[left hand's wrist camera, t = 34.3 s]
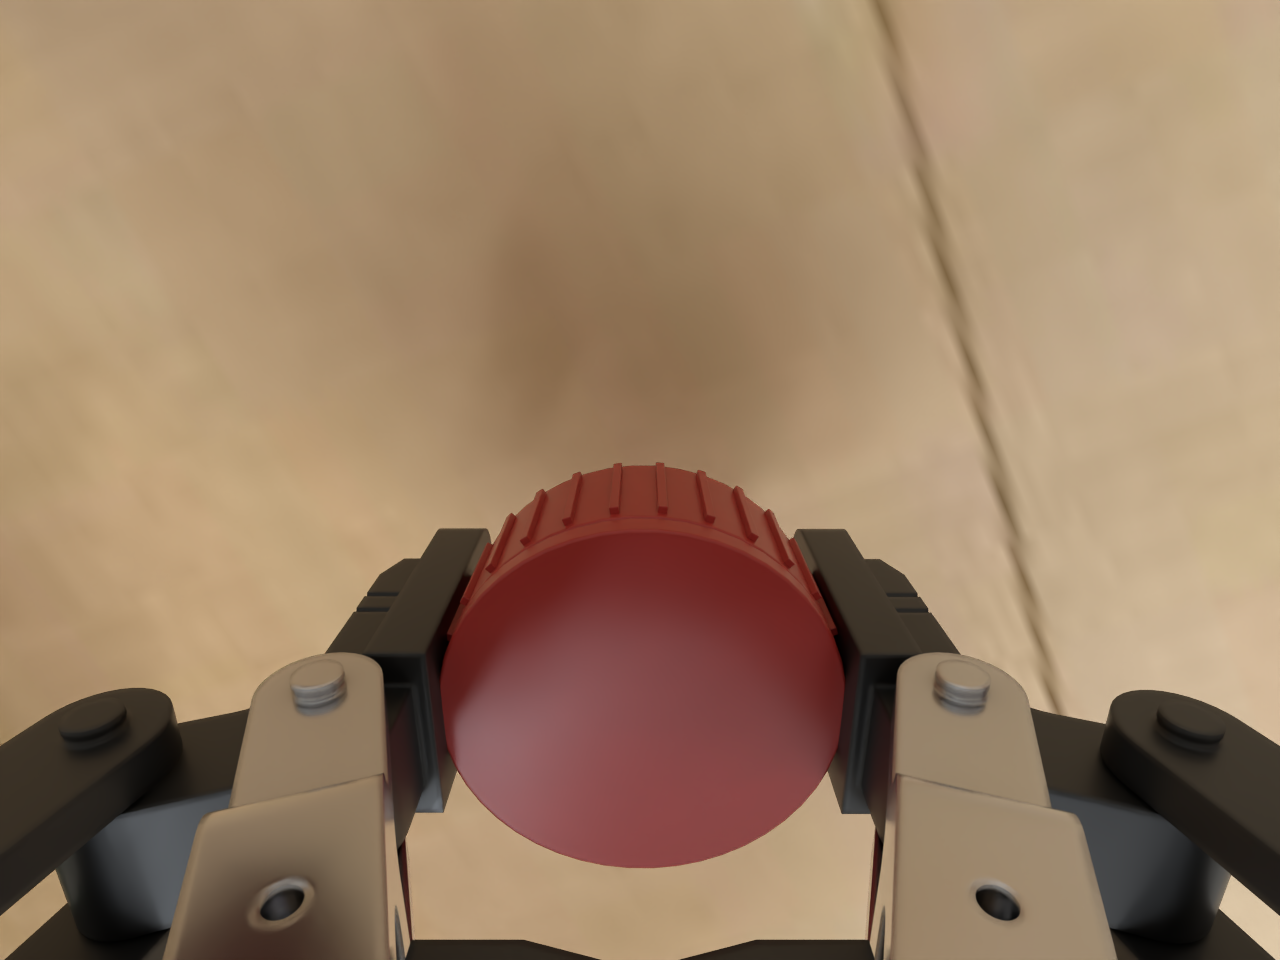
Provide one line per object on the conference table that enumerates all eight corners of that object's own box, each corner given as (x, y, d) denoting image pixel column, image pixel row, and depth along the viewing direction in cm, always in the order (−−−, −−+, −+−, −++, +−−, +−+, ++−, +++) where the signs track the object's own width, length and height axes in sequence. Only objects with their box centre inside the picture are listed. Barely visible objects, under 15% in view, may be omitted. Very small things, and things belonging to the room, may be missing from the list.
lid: (859, 498, 10) (911, 571, 8) (763, 782, 12) (787, 899, 10) (494, 425, 10) (458, 483, 8) (450, 730, 11) (410, 840, 10)
